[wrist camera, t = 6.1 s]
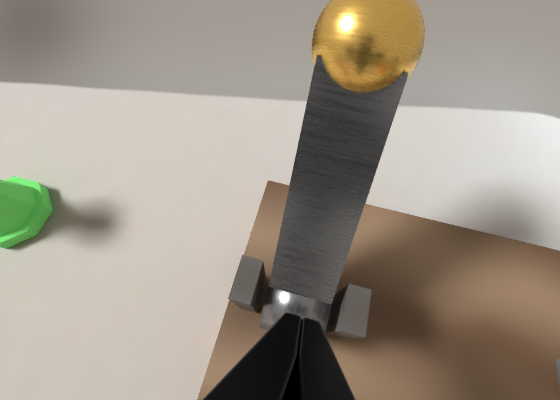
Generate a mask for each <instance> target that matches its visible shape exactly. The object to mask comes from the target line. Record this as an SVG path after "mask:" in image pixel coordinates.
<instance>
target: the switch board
mask: <svg viewBox="0 0 560 400" xmlns="http://www.w3.org/2000/svg"><path fill="white" fill-rule="evenodd" d="M288 191H289V185H285V184H281V183H276V182H272V181H268V182H267V185H266V188H265V192H264V195H263V198H262V201H261V204H260V207H259V210H258V213H257V216H256V219H255V223H254V226H253V229H252V232H251V235H250V238H249V241H248V244H247V247H246V250H245V254H244V255H242V258H241V261H240V264H239V267H238V270H237V273H236V276H235V279H234V282H233V285H232V288H231V292H230V295H229V298H228V299H229V303H228V306H227V309H226V312H225V316H224V319H223V322H222V325H221V328H220V331H219V334H218V337H217V340H216V343H215V347H214V350H213V353H212V356H211V359H210V362H209V365H208V368H207V371H206V374H205V378H204V381H203V384H202V387H201V390H200V393H199V396H198V399H197V400H202V399H203V398H204V397H205V396H206V395H207V394H208V393H209V392H210V391H211V390H212V389H213V388H214V387H215V386H216V385H217V383H218V382H219V381H220V380H221V379H222V378H223V377H224V376H225V375H226V374H227V373H228V372H229V371H230V370H231V369H232V368H233V367H234V366H235V364H236V363H237V362H238V361H239V360H240V359H241V358H242V357H243V356H244V355H245V354H246V353H247V352H248V351H249V350H250V349H251V348H252V347H253V345H254V344H255V343H256V342H257V341H258V340H259V339H260V338H261V337H262V336H263V335H264V334H265V333H266V332H267V331H268V330H265V329H261V328H259V325H260V319H261V314H262V310H263V306H264V302H265V298H266V294H267V290H268V286H269V281H270V277H271V272H272V267H273V262H274V258H275V253H276V248H277V243H278V239H279V234H280V229H281V224H282V219H283V215H284V210H285V205H286V200H287V196H288ZM325 334H326V336H327V339H328V341H329V343H330V345H331V347H332V349H333V352H334V354H335V356H336V358H337V360H338V363H339V365H340V367H341V369H342V371H343V374H344V376H345V378H346V380H347V382H348V384H349V387H350V389H351V391H352V393H353V395H354V398H355V400H560V251H558V250H554V249H550V248H546V247H541V246H537V245H533V244H529V243H525V242H521V241H517V240H512V239H508V238H504V237H500V236H496V235H492V234H488V233H484V232H479V231H475V230H471V229H467V228H463V227H459V226H455V225H450V224H446V223H442V222H438V221H434V220H430V219H426V218H421V217H417V216H413V215H409V214H405V213H401V212H397V211H392V210H388V209H384V208H380V207H376V206H372V205H368V204H365V205H364V208H363V211H362V214H361V217H360V220H359V223H358V226H357V229H356V232H355V235H354V238H353V241H352V244H351V247H350V250H349V253H348V256H347V259H346V262H345V265H344V268H343V271H342V274H341V277H340V280H339V283H338V286H337V289H336V292H335V295H334V298H333V301H332V304H331V310H330V314H329V319H328V323H327V327H326V330H325Z"/></svg>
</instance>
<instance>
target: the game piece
mask: <svg viewBox="0 0 560 400" xmlns="http://www.w3.org/2000/svg"><path fill="white" fill-rule="evenodd" d="M52 212H53V207H52V203H51V199H50V195H49V192H48V189H47V188H46V187H44V186H43V185H41V184H40V183H37V182H34V181H30V180H27V179H23V178H20V177H16V176H14V177H12V178H9V179H7V180H0V247H2V248H6V249H7V248H9V247H12V246H14V245H16V244H18V243H21V242H23V241H25V240H28V239H30V238H32V237H34V236H37V234H38V233H39V231H40V230H41V228H42V227H43V225H44V224H45V222H46V221H47V219H48V218H49V216H50V215H51V213H52Z"/></svg>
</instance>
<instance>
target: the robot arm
mask: <svg viewBox="0 0 560 400" xmlns="http://www.w3.org/2000/svg"><path fill="white" fill-rule="evenodd" d="M202 400H355V398H354V395H353V393H352V391H351V389H350V387H349V384H348V382H347V380H346V378H345V376H344V374H343V371H342V369H341V367H340V365H339V363H338V360H337V358H336V356H335V354H334V352H333V349H332V347H331V345H330V343H329V341H328V339H327V336H326V334H325V332H324V330H323V328H322V325H321V323H320V322H319V321H316V320H313V319H309V318H303V319H302V318H301V317H300V316H298V315H295V314H291V313H288V312H286V313H284V314H283V315H282V316H281V317H280V318H279V319H278V320H277V321H276V322H275V323H274V324H273V325H272V326H271V328H270V329H269V330H268V331H267V332H266V333H265V334H264V335H263V336H262V337H261V338H260V339H259V340H258V341H257V342H256V343H255V344H254V345H253V347H252V348H251V349H250V350H249V351H248V352H247V353H246V354H245V355H244V356H243V357H242V358H241V359H240V360H239V361H238V362H237V363H236V364H235V366H234V367H233V368H232V369H231V370H230V371H229V372H228V373H227V374H226V375H225V376H224V377H223V378H222V379H221V380H220V381H219V382H218V383H217V385H216V386H215V387H214V388H213V389H212V390H211V391H210V392H209V393H208V394H207V395H206V396H205V397H204V398H203V399H202Z"/></svg>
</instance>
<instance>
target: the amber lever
mask: <svg viewBox="0 0 560 400" xmlns="http://www.w3.org/2000/svg"><path fill="white" fill-rule="evenodd" d="M424 39H425V26H424V19H423V15H422V12H421V10H420V7H419V5H418V3H417V2H416V0H330V1H329V3H328V4H327V5H326V6H325V8H324V9H323V11H322V12H321V14H320V16H319V18H318V21H317V23H316V25H315V29H314V33H313V38H312V58H313V63H314V71H313V76H312V81H311V86H310V91H309V96H308V100H307V105H306V110H305V114H304V119H303V124H302V129H301V134H300V138H299V143H298V148H297V153H296V157H295V162H294V167H293V172H292V176H291V181H290V186H289V191H288V196H287V200H286V205H285V210H284V215H283V219H282V224H281V229H280V234H279V239H278V243H277V248H276V253H275V258H274V262H273V267H272V272H271V277H270V281H269V286H268V290H267V294H266V298H265V302H264V306H263V310H262V314H261V319H260V325H259V328H261V329H265V330H269V329H270V328H271V326H272V325H273V324H274V323H275V322H276V321H277V320H278V319H279V318H280V317H281V316H282V315H283V314H284V313H286V312H288V313H291V314H295V315H298V316H300V317H301V318H302V319H303V318H309V319H313V320H316V321H319V322H320V323H321V325H322V328H323V330H324V332H325V330H326V327H327V323H328V319H329V314H330V310H331V304H332V301H333V298H334V295H335V292H336V289H337V286H338V283H339V280H340V277H341V274H342V271H343V268H344V265H345V262H346V259H347V256H348V253H349V250H350V247H351V244H352V241H353V238H354V235H355V232H356V229H357V226H358V223H359V220H360V217H361V214H362V211H363V208H364V205H365V202H366V199H367V196H368V193H369V190H370V187H371V184H372V181H373V178H374V175H375V172H376V169H377V166H378V163H379V160H380V157H381V154H382V151H383V148H384V145H385V142H386V139H387V136H388V133H389V130H390V128H391V125H392V122H393V119H394V116H395V113H396V110H397V107H398V104H399V101H400V98H401V95H402V92H403V89H404V85H405V83H406V80H407V78H408V77H409V76H410V75H411V73H412V71H413V70H414V69H415V67H416V65H417V63H418V61H419V58H420V56H421V53H422V49H423V45H424Z"/></svg>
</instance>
